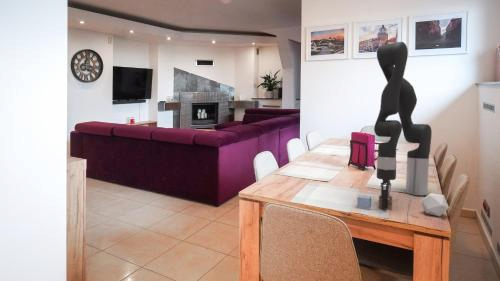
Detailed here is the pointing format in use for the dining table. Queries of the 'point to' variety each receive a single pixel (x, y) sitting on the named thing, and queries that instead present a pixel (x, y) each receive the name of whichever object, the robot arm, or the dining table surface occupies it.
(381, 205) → the walnut cube
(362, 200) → the blue cube
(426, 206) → the die
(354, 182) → the dining table surface
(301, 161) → the dining table surface
